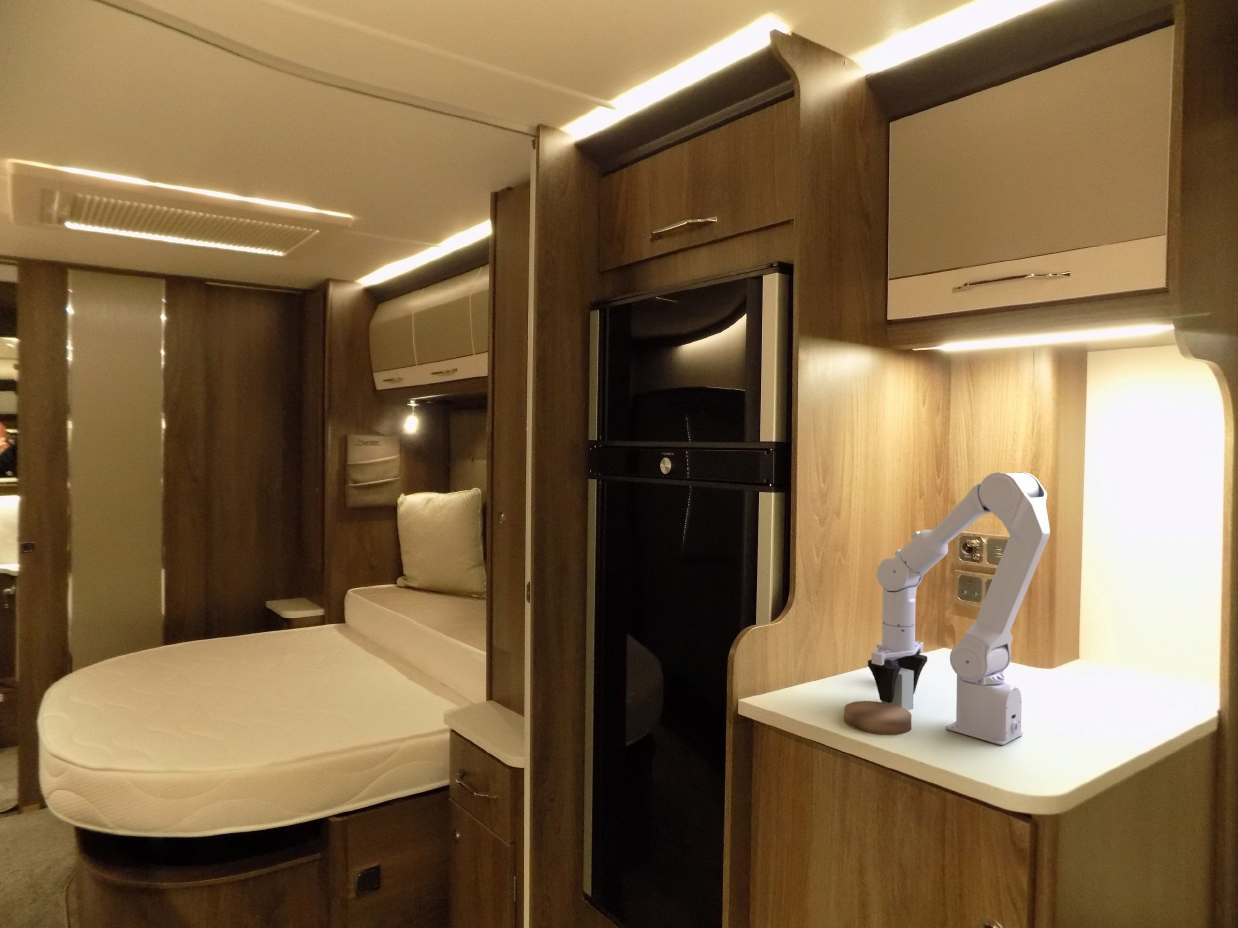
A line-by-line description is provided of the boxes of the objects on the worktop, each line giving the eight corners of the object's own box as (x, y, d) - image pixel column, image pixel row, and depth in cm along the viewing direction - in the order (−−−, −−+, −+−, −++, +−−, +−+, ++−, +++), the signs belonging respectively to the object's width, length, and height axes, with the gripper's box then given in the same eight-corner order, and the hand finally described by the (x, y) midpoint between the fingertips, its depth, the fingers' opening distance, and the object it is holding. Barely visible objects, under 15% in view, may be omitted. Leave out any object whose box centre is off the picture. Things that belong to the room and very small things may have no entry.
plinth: (923, 724, 131) (923, 713, 131) (889, 739, 124) (889, 727, 124) (866, 707, 139) (866, 696, 139) (831, 720, 132) (831, 709, 132)
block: (913, 708, 139) (913, 670, 139) (901, 713, 136) (902, 674, 136) (893, 703, 142) (893, 665, 142) (881, 707, 140) (882, 669, 139)
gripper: (899, 614, 147) (898, 684, 147) (856, 624, 138) (855, 699, 138) (934, 621, 141) (933, 693, 142) (892, 632, 132) (891, 709, 132)
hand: (897, 697), depth 139 cm, fingers open, 7 cm apart
